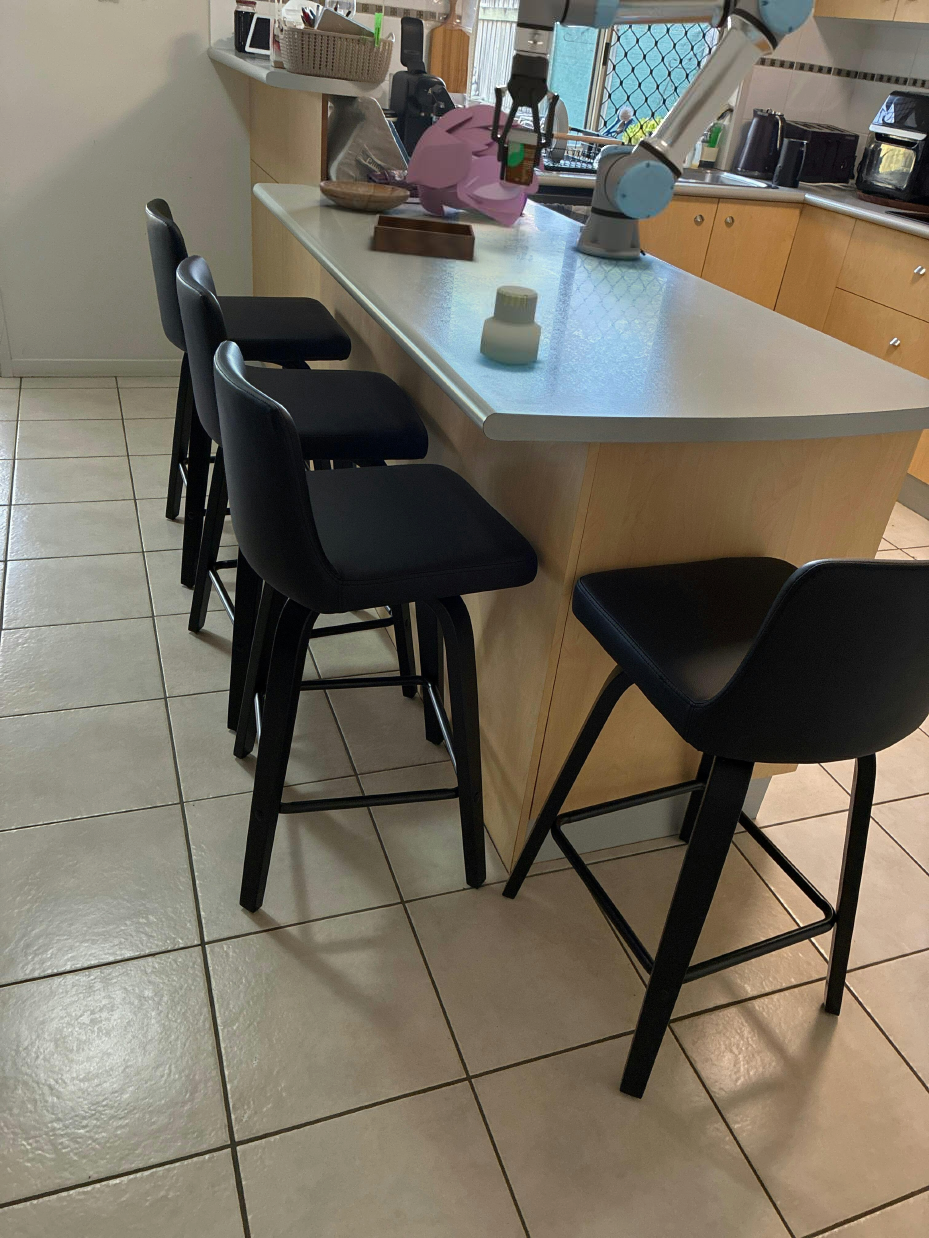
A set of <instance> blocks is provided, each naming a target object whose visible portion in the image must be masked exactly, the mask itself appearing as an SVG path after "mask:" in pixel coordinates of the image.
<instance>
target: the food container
mask: <svg viewBox="0 0 929 1238" xmlns="http://www.w3.org/2000/svg"><path fill="white" fill-rule="evenodd" d="M526 128H527V127H525V128H514V127H511V129H510V131H509V132H508V134H507V137H506V140H507V146H508V151H507V160H506V172H505V181H506V182H509V183H513V184H517V185H523V186H530V182H531V175H532V169H533V162H534V156H535V149H536V145H537V136H538V134H536V133H534V132H533V129H532V128H527V129H526Z"/></svg>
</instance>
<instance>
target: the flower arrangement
mask: <svg viewBox="0 0 929 1238" xmlns="http://www.w3.org/2000/svg"><path fill="white" fill-rule="evenodd" d="M494 108H495V105H491V104H485V103H482V104H481V103H480V104H479V103H478V104H474V105H471V106H468V107H466V106H465V107H464V106H461V107H457V108H453V109H451V110H449V111H448V112H446V113H444V114H443V115H442V116H441V117H439V118H438V120H436V122H435V123H434V124H433V125H430V126H429V127H428V128H427V129H426V130H425V131H424V132H423V133H422V135H421V137H420V138H419V140H418V142H417V143H416V146H415V147H414V150H413V152H412V155H411V158H410V159H409V162H408V165H407V168H406V173H405V182H406V184H411V185H416V186H417V189H418V199H419V200H418V201H419V203H420V205H421V207H422V208H423V209H424V210H425V211H426V212H427V213H429V214H432V215H435V216H439V217H445V216H446V212H445V208H444V207H447V208H451V209H454V210H457V211H463V212H466V213H470V214H478V215H483V216H487V217H490V218H491V219H494V220H495V221H497V222H499V223H500V224H503V225H504V226H505V227H508V228H509V227H511V226H513V225H514V224H515V223H516V222H517V221H518V220H519V218H522V219H523V218H524V217H526V216H527V214H526V213H524V210H525V208H526V204H527V201H528V194H529V195H533V194H534V195H535V194H536V193H537V192H538V191H539V184H540V183H539V177H538V175H537V172H536V170H535V169H534V173H533V180H532V184H530V186H523V185H517V184H513V183H509V182H506V181H505V176H504V180H500V170H501V162H498V161H497V152H498V143H497V142H495V141H493V140H492V139H491V130H492V123H493V116H494ZM507 117H508V114H507V112H505V111H504V110H503V109H501V114H500V121H499V128H498V136H499V137H500V135H501V133H502V130H503V127H504V125H505V122H506V119H507ZM511 127H514V128H526V129H528V128H527V127H525V126H524V125H522V124H521V123H518V122H517V121H515V120H514V121H513V123H512V126H511ZM505 145H507V140H506V142H505ZM544 163H545V162H544V158H543V151H542V152H541V158H540V164H539V166H535V168H537V169H538V170H539V171H540V172H542V173H543V174H546V172H545V164H544ZM505 172H506V168H505Z"/></svg>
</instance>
